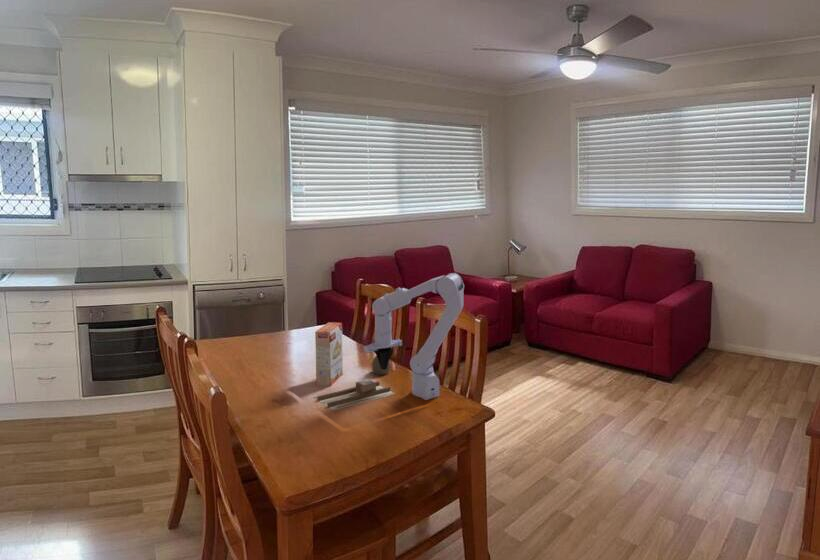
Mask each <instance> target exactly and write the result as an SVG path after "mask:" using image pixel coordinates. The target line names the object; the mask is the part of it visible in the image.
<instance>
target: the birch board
mask: <svg viewBox="0 0 820 560" xmlns="http://www.w3.org/2000/svg"><path fill="white" fill-rule="evenodd" d="M373 382H374V383H376V390H375V391H371V392H367V393H363V394H359V393H357V392H356V386H352V387H348V388H345V389H341V390H336V391H333V392H329V393H324V394H320V395H317V396H314V397H313V399H315V400H317V401H319V402H320V403H321V404H323V405H324V406H325V407H327V408H329V409H330V410H332V411H338V410H342V409H345V408H349V407H353V406H356V405H360V404H363V403H366V402H370V401H374V400H377V399H378V400H379V399H382V398H385V397H389V396H394V395H396V393H395V392H394V391H391V387H390V386H387V387H383V386H382V385H380V381H373Z"/></svg>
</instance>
